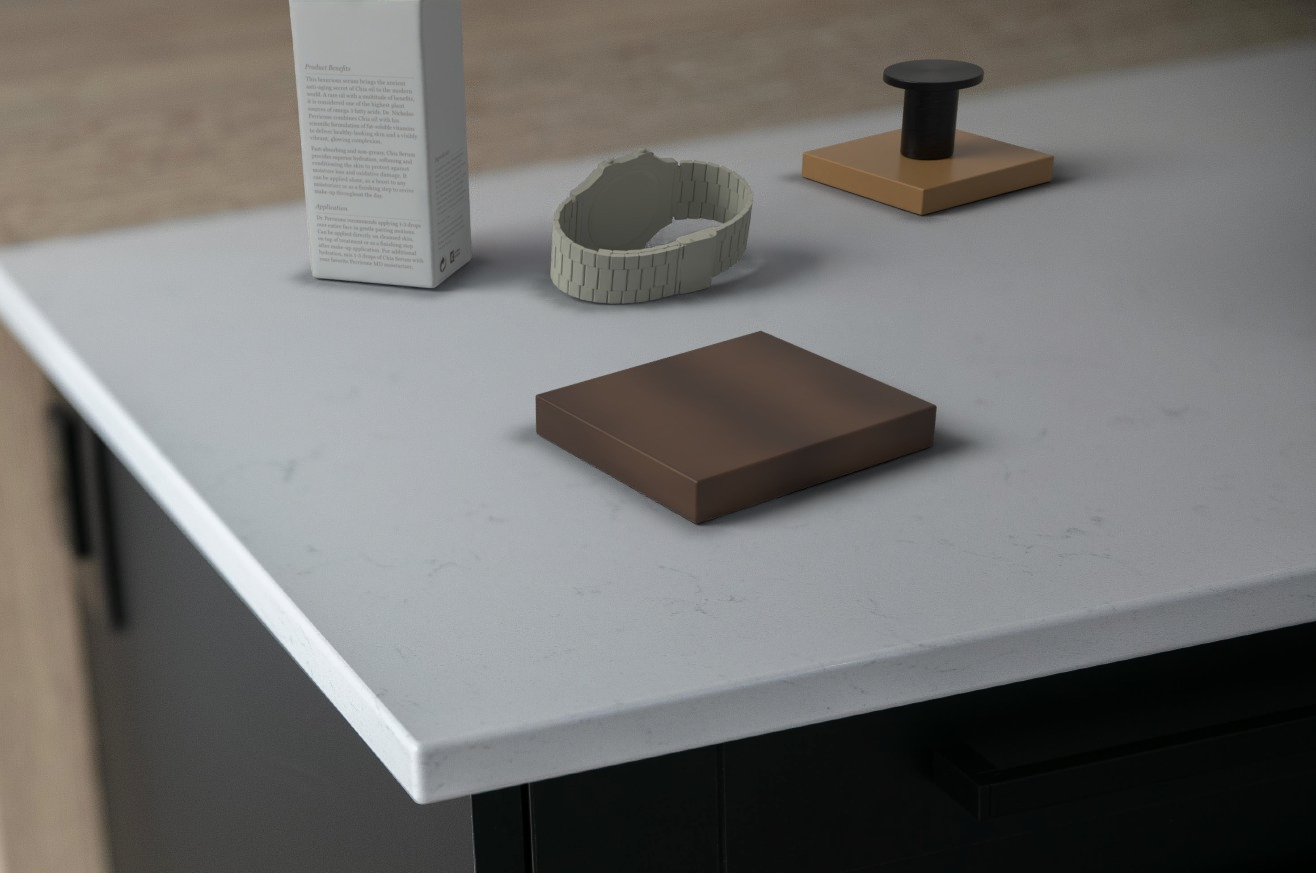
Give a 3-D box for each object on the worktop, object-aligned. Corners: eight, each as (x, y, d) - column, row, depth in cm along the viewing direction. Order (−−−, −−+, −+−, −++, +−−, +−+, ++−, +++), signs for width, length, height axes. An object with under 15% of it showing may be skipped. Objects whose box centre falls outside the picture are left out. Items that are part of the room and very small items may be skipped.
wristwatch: (697, 237, 86) (700, 124, 83) (788, 275, 81) (793, 155, 78) (519, 279, 82) (516, 162, 80) (602, 322, 77) (602, 198, 75)
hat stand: (927, 145, 96) (936, 42, 93) (1052, 181, 90) (1065, 71, 87) (800, 177, 93) (806, 70, 90) (921, 216, 86) (930, 102, 84)
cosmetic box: (474, 260, 85) (465, -25, 79) (434, 292, 82) (422, -3, 76) (350, 248, 88) (332, -29, 82) (306, 279, 84) (284, -7, 78)
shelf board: (759, 367, 72) (761, 329, 72) (934, 446, 65) (938, 405, 65) (534, 434, 68) (534, 394, 68) (695, 525, 61) (697, 482, 61)
